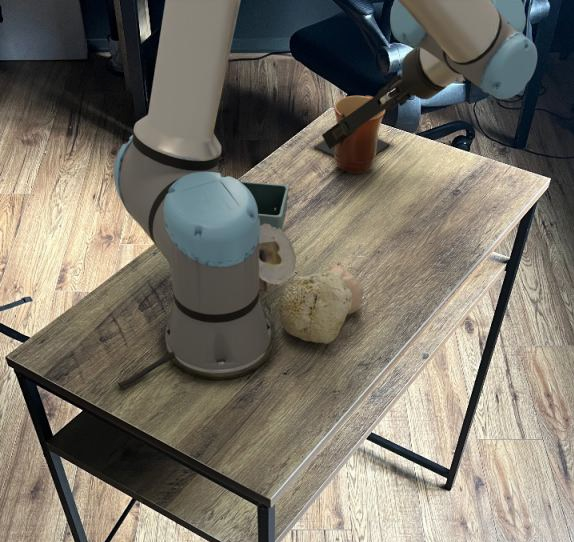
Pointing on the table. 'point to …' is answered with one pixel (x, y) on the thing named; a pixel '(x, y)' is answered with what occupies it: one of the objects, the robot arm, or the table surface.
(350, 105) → the mug
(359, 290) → the garlic bulb
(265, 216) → the flower pot
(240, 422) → the table surface
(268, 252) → the figurine
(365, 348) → the table surface
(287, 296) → the decorative item
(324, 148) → the mat
